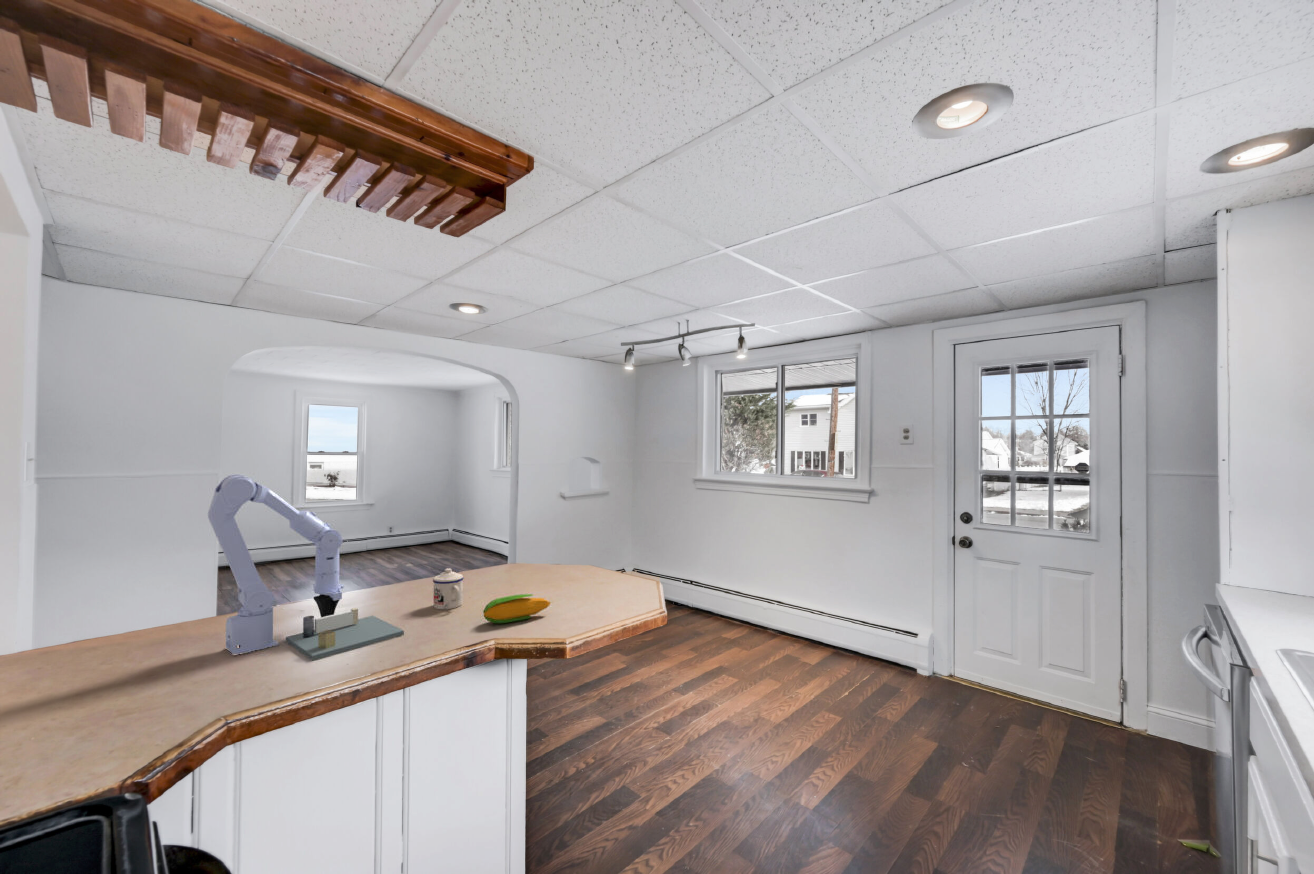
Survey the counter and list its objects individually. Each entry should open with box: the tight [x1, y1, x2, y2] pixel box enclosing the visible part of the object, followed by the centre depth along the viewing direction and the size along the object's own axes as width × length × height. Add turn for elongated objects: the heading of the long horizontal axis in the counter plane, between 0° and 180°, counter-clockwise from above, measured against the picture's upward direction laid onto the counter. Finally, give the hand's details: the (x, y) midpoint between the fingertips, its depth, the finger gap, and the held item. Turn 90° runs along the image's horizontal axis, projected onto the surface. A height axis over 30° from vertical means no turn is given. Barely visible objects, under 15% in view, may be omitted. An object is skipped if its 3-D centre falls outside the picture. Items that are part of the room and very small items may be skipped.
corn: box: [482, 593, 551, 624], centre depth 160 cm, size 7×8×20 cm
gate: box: [314, 607, 359, 633], centre depth 148 cm, size 10×1×4 cm, turn 141°
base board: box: [285, 615, 405, 662], centre depth 145 cm, size 22×19×1 cm
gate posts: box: [302, 615, 335, 649], centre depth 139 cm, size 3×14×5 cm, turn 51°
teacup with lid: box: [432, 568, 464, 610], centre depth 172 cm, size 12×9×12 cm
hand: (327, 621), depth 150 cm, fingers closed
